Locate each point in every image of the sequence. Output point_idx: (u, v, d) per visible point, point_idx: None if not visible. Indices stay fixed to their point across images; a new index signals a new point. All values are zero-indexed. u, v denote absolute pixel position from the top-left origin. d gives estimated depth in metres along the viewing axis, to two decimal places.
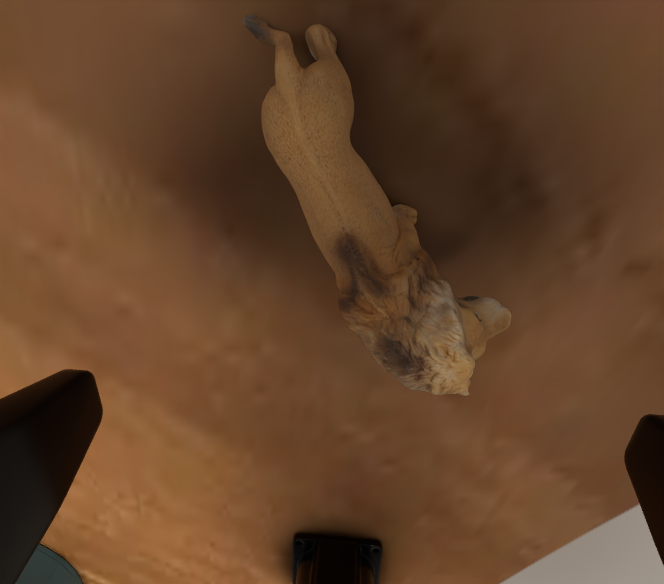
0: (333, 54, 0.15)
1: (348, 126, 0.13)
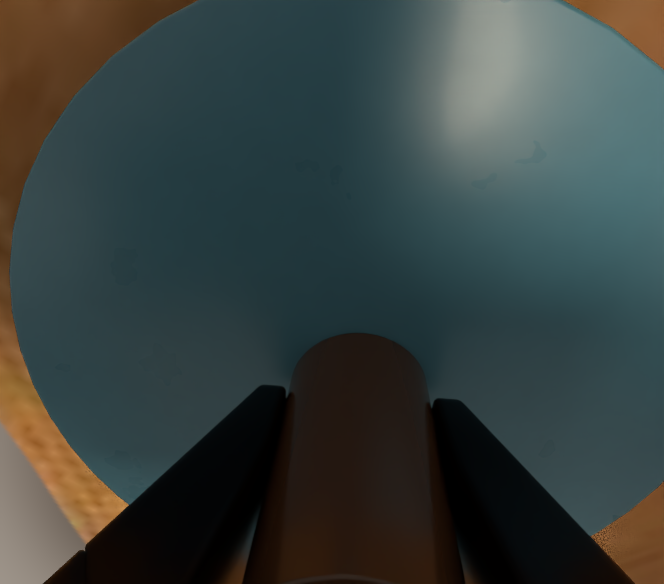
0: None
1: None
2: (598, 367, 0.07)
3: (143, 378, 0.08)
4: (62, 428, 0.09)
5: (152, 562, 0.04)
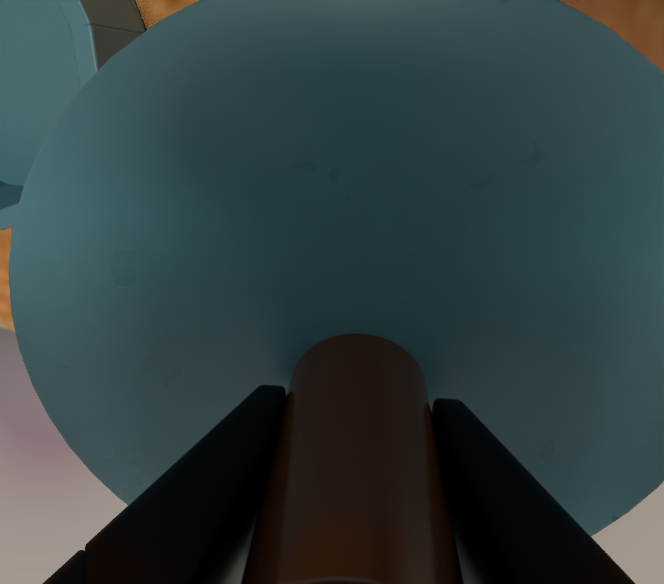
0: None
1: None
2: (597, 368, 0.07)
3: (142, 379, 0.08)
4: (61, 429, 0.09)
5: (152, 562, 0.04)
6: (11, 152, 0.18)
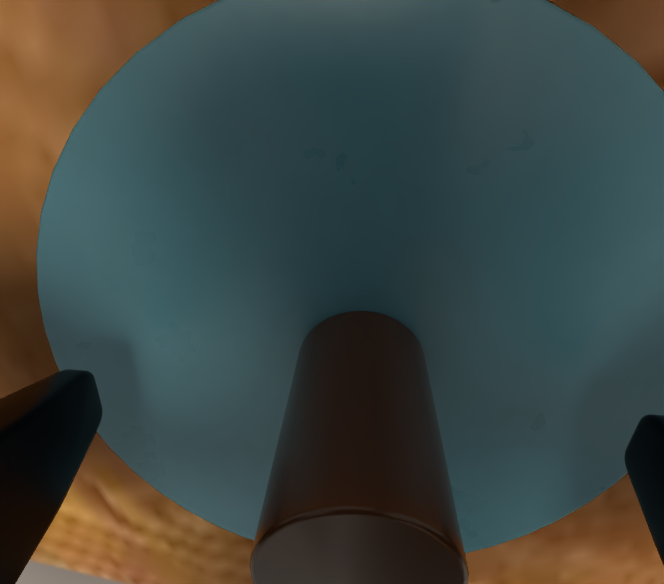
0: None
1: None
2: (585, 343, 0.08)
3: (159, 355, 0.09)
4: None
5: None
6: None
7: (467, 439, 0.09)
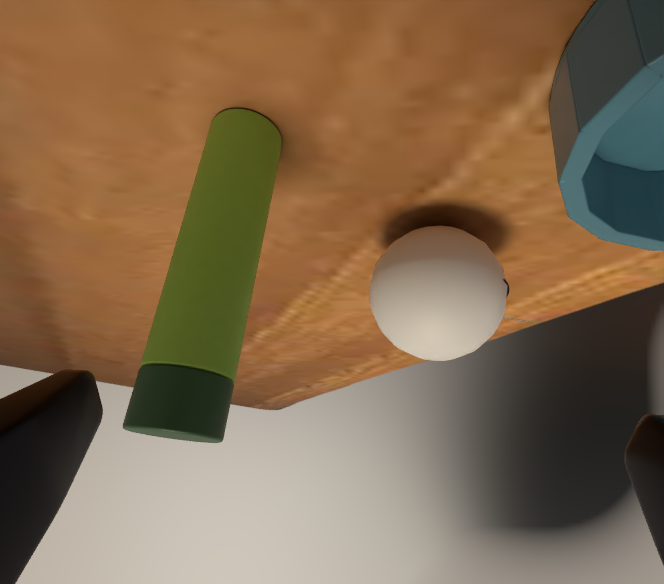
0: None
1: None
2: None
3: None
4: None
5: None
6: None
7: None
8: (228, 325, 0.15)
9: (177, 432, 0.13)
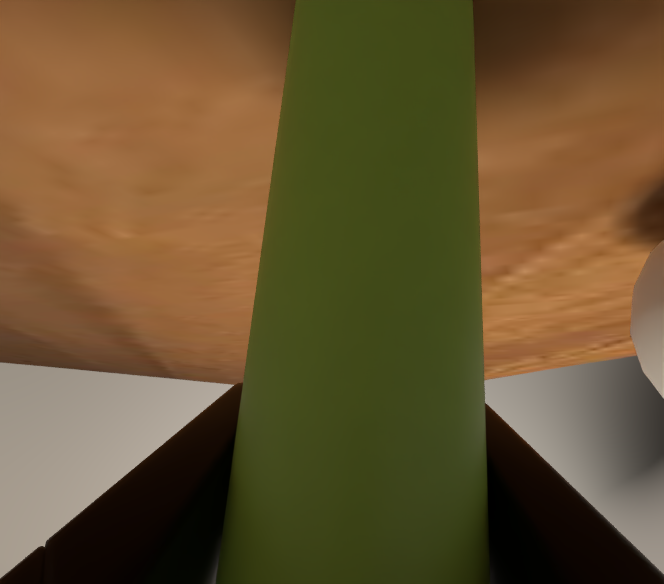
0: None
1: None
2: None
3: None
4: None
5: (110, 558, 0.04)
6: None
7: None
8: None
9: None
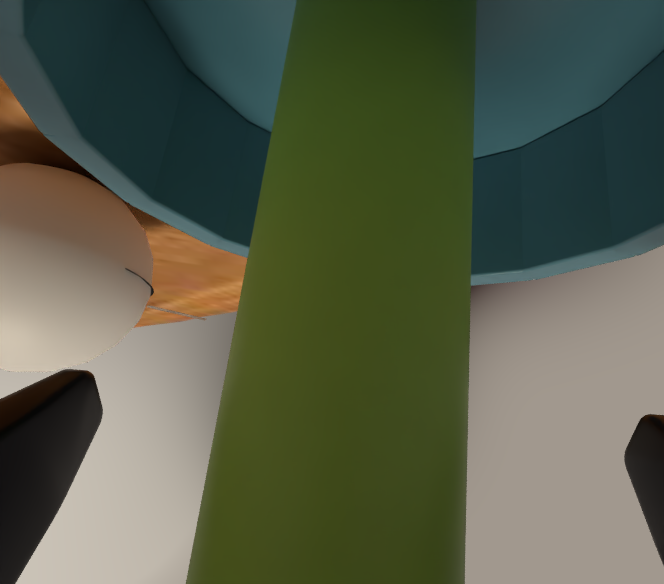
0: None
1: None
2: None
3: None
4: None
5: None
6: (502, 112, 0.10)
7: None
8: None
9: None
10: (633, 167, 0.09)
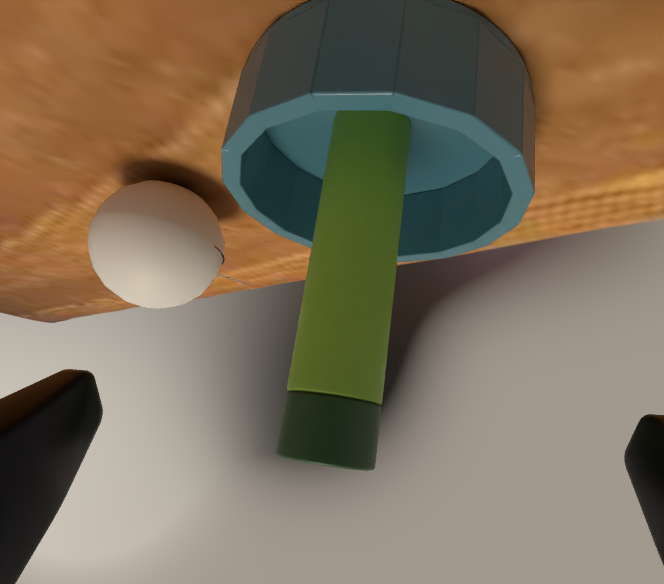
0: None
1: None
2: None
3: None
4: None
5: None
6: (430, 171, 0.20)
7: None
8: (375, 347, 0.14)
9: (335, 466, 0.13)
10: (483, 204, 0.19)
